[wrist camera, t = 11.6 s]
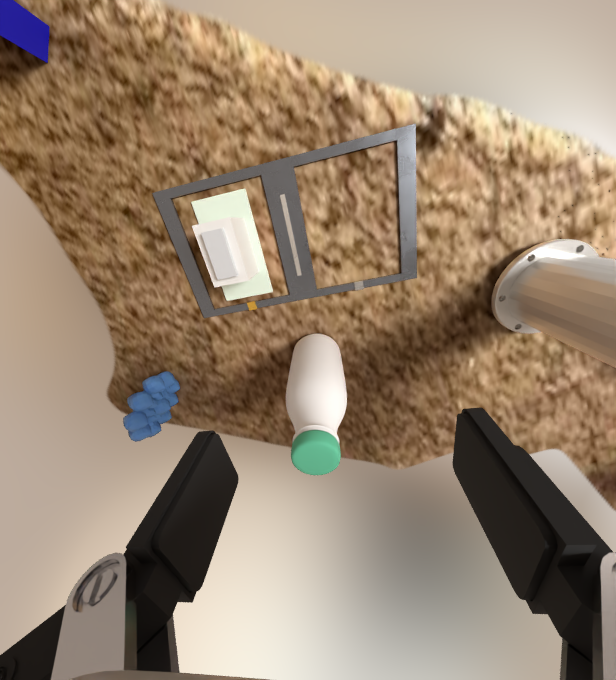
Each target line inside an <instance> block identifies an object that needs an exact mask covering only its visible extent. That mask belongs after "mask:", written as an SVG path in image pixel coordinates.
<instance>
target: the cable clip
mask: <svg viewBox="0 0 616 680" xmlns="http://www.w3.org/2000/svg"><path fill="white" fill-rule="evenodd" d="M0 35H1V36H2V37H4V38H6V39H7V40H9V41H11V42H13V43H14V44H16V45H18V46H19V47H21V48H23V49H24V50H26V51H28V52H29V53H31V54H33V55H35V56H36V57H38V58H40V59H41V60H43V61H45V62H46V63H48V43H49V26H48V25H46V24H45V23H44V22H42V21H41V20H40V19H38V18H37V17H35V16H34V15H33V14H31V13H30V12H29V11H27V10H26V9H25V8H23V7H22V6H20V5H19V4H18V3H16V2H15V1H14V0H0Z"/></svg>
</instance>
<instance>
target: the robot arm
mask: <svg viewBox="0 0 616 680" xmlns="http://www.w3.org/2000/svg"><path fill="white" fill-rule="evenodd" d="M491 304H492V311H493V314H494V316H495V318H496V319H497V321H498V322H499V323H500V324H501V325H503V326H504V327H506V328H508V329H510V330H512V331H514V332H518V333H538V332H543V333H545V334H547V335H549V336H551V337H553V338H555V339H557V340H559V341H561V342H563V343H565V344H567V345H569V346H571V347H573V348H575V349H578V350H580V351H582V352H584V353H586V354H588V355H590V356H592V357H594V358H596V359H598V360H600V361H602V362H604V363H606V364H608V365H610V366H612V367H614V368H616V259H610V258H602V257H599V255H598V253H597V252H596V251H595V249H594V248H593V247H591V246H590V245H588V244H587V243H585V242H582V241H579V240H571V239H555V240H550V241H546V242H543V243H540V244H538V245H535V246H533V247H531V248H530V249H528V250H526V251H524V252H523V253H522V254H520V255H519V256H518V257H516V258H515V259H514V260H513V261H512V262H511V263H510V264H509V265H508V266H507V267H506V269H505V270H504V271H503V272H502V274H501V275H500V277H499V279H498V280H497V282H496V284H495V287H494V290H493V293H492V299H491ZM453 455H454V456H453V468H454V472H455V474H456V476H457V478H458V480H459V482H460V484H461V486H462V488H463V490H464V492H465V494H466V496H467V498H468V500H469V502H470V504H471V506H472V508H473V510H474V512H475V514H476V516H477V518H478V520H479V522H480V524H481V526H482V528H483V530H484V532H485V534H486V536H487V538H488V540H489V542H490V544H491V545H492V548H493V549H494V551H495V553H496V555H497V557H498V559H499V561H500V563H501V565H502V567H503V569H504V571H505V573H506V575H507V577H508V579H509V581H510V583H511V585H512V587H513V589H514V591H515V593H516V594H517V595H518V597H519V598H520V599H522V600H526V602H527V603H528V606H529V608H530V609H531V611H532V613H533V614H548V615H549V617H550V619H551V621H552V622H553V624H554V626H555V628H556V630H557V631H558V633H559V635H560V636H561V637H562V652H561V669H560V680H616V552H613V551H612V550H611V549H610V548H609V547H608V545H607V544H606V543H605V542H604V541H603V540H602V539H601V537H600V536H599V535H598V534H597V533H596V532H595V531H594V529H593V528H592V527H591V526H590V525H589V523H588V522H587V521H586V520H585V519H584V518H583V517H582V515H581V514H580V513H579V512H578V511H577V510H576V508H575V507H574V506H573V505H572V504H571V503H570V501H569V500H568V499H567V498H566V497H565V496H564V495H563V493H562V492H561V491H560V490H559V489H558V488H557V487H556V485H555V484H554V483H553V482H552V481H551V479H550V478H549V477H548V476H547V475H546V474H545V473H544V471H543V470H542V469H541V468H540V467H539V466H538V464H537V463H536V462H535V461H534V460H533V459H532V457H531V456H530V455H529V454H528V453H527V452H526V451H525V450H524V449H523V448H521V447H520V446H516V445H513V443H512V442H511V441H510V440H509V439H508V437H507V436H506V435H505V434H504V433H503V431H502V430H501V429H500V428H499V427H498V425H497V424H496V423H495V422H494V421H493V419H492V418H491V417H490V416H489V415H488V413H487V412H486V411H485V410H484V409H483V408H470V409H463V410H462V413H461V414H458V415H457V423H456V433H455V444H454V454H453ZM237 484H238V474H237V472H236V470H235V468H234V466H233V464H232V462H231V459H230V457H229V455H228V453H227V451H226V449H225V447H224V445H223V443H222V440H221V438H220V436H219V435H218V434H216V433H215V432H214V431H202V432H198V433H197V434H196V436H195V437H194V439H193V441H192V442H191V444H190V445H189V447H188V449H187V450H186V452H185V453H184V455H183V457H182V458H181V460H180V461H179V463H178V465H177V466H176V468H175V469H174V471H173V473H172V474H171V476H170V478H169V479H168V481H167V482H166V484H165V486H164V487H163V489H162V490H161V492H160V493H159V495H158V497H157V498H156V500H155V502H154V503H153V505H152V506H151V508H150V509H149V511H148V513H147V514H146V516H145V518H144V519H143V520H142V522H141V524H140V525H139V527H138V528H137V530H136V532H135V534H134V535H133V536H132V538H131V540H130V541H129V543H128V545H127V546H126V548H127V550H126V551H125V553H124V555H122V554H121V553H113V554H109V555H107V556H105V557H103V558H102V559H100V560H99V561H97V562H96V563H95V564H94V565H92V566H91V567H90V568H89V569H88V570H87V571H86V572H85V573H84V574H83V575H82V577H81V578H80V579H79V581H78V582H77V583H76V585H75V586H74V588H73V589H72V591H71V593H70V595H69V597H68V600H67V604H66V605H65V606H64V607H62V608H61V609H60V610H58V611H57V612H56V613H55V614H53V615H52V616H51V617H50V618H48V619H47V620H46V621H44V622H43V623H42V624H40V625H39V626H38V627H37V628H35V629H34V630H33V631H31V632H30V633H29V634H27V635H26V636H25V637H24V638H22V639H21V640H20V641H18V642H17V643H16V644H14V645H13V646H12V647H11V648H9V649H8V650H7V651H5V652H4V653H3V654H1V655H0V680H267V679H254V678H242V677H229V676H215V675H203V674H190V673H179V664H178V655H177V646H176V638H175V629H174V620H173V612H174V609H175V607H176V604H177V602H193V600H194V597H195V594H196V592H197V591H198V590H200V588H201V587H202V585H203V582H204V579H205V576H206V574H207V571H208V568H209V565H210V562H211V559H212V556H213V553H214V550H215V548H216V545H217V542H218V539H219V536H220V533H221V530H222V527H223V525H224V522H225V519H226V516H227V513H228V510H229V507H230V505H231V502H232V499H233V496H234V493H235V490H236V488H237Z"/></svg>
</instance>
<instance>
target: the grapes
mask: <svg viewBox="0 0 616 680" xmlns="http://www.w3.org/2000/svg"><path fill="white" fill-rule="evenodd" d="M142 384H143V389H144V391H143V392H137V393H135V394H133V395H131V396H130V397H128V398H127V402H128V405H129V407H130V408H131V409H133V412H132V413H130V414H128V415H127V416H125V417H124V418H123V423H124V426H125V428H126V429H127V430H128V433H129V437H130V438H131V440H133V441H141V440H143V439H145V438H147V437H152V436H154V435H156V434H157V433H159V432H160V431H161V426H160V424H163V423H165V422H167V421H168V420H170V419H171V418H172V417H171V412H170V411H169V410H170V409H171V407H172V406H174V405H175V404H177V403H178V402H179V401H178V397H177V395H176V394H175V392H176V391H178V390H179V389H180V385H179V383H178V381H177V380H176V379H175V378H174V376H173V374H172V373H170V372H166V371H165V372H162V373H160V374H158V375H157V376H152V377H149V378H147V379H146V380H144V381H143V382H142Z"/></svg>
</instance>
